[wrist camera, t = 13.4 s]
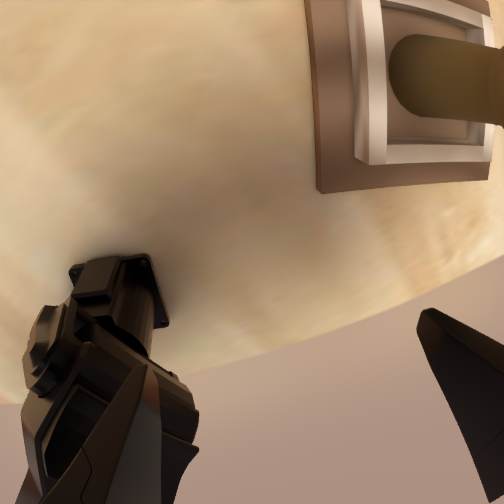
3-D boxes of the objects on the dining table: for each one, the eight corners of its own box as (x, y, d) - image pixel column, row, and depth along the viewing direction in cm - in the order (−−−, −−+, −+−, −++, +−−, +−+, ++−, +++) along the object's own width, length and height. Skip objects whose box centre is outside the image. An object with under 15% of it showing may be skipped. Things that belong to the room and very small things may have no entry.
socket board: (480, 176, 22) (503, 188, 20) (316, 188, 21) (333, 205, 18) (480, 1, 14) (505, 0, 12) (298, -43, 13) (314, -60, 10)
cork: (404, 17, 14) (540, 8, 5) (463, 64, 16) (587, 90, 7) (375, 91, 17) (514, 123, 8) (438, 132, 19) (561, 187, 9)
